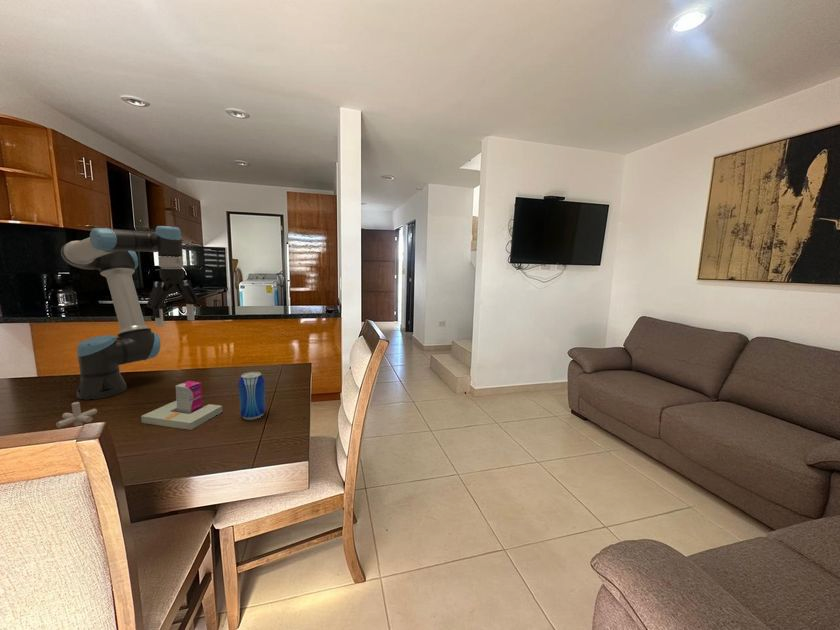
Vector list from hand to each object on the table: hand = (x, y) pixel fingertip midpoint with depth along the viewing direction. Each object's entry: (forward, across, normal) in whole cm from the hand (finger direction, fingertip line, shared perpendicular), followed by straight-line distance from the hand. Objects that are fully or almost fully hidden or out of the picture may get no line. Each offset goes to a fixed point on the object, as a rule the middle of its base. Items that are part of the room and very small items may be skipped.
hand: (176, 323), depth 131 cm
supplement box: (+32, -10, -13) cm, 36 cm away
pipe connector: (+32, -29, +10) cm, 44 cm away
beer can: (+32, -5, -36) cm, 48 cm away
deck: (+32, -12, -13) cm, 36 cm away
